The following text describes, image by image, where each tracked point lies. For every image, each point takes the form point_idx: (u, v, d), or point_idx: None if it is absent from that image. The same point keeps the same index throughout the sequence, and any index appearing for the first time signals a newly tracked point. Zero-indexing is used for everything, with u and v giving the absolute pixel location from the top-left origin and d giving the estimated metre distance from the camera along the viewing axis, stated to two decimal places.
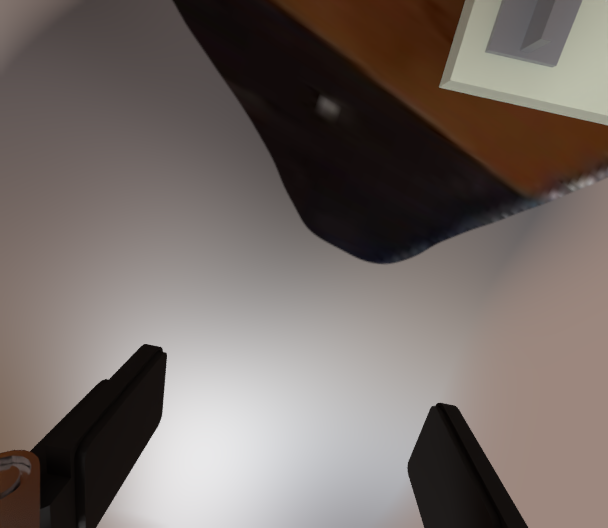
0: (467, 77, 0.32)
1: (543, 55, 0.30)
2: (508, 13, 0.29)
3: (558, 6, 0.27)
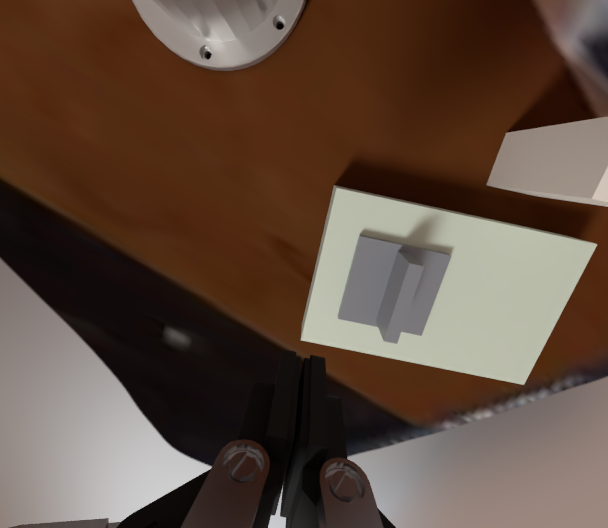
0: (320, 338, 0.26)
1: (404, 325, 0.25)
2: (357, 285, 0.24)
3: (399, 311, 0.21)
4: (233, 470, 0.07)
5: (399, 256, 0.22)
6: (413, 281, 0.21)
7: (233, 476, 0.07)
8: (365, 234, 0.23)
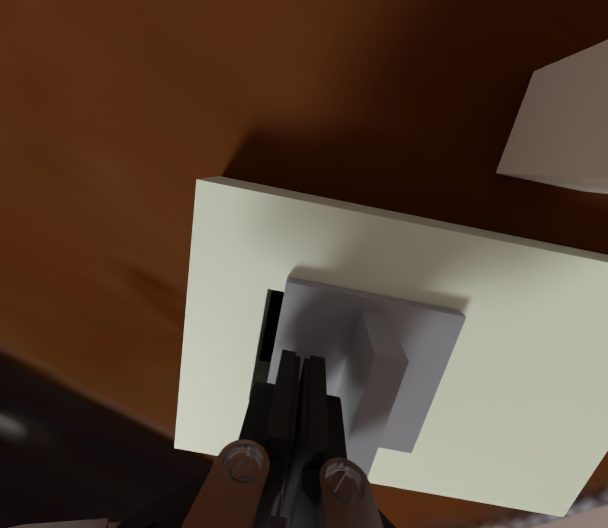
0: (208, 444, 0.15)
1: None
2: None
3: (360, 447, 0.10)
4: (233, 470, 0.07)
5: (362, 323, 0.11)
6: (386, 391, 0.09)
7: (233, 476, 0.07)
8: (264, 269, 0.12)
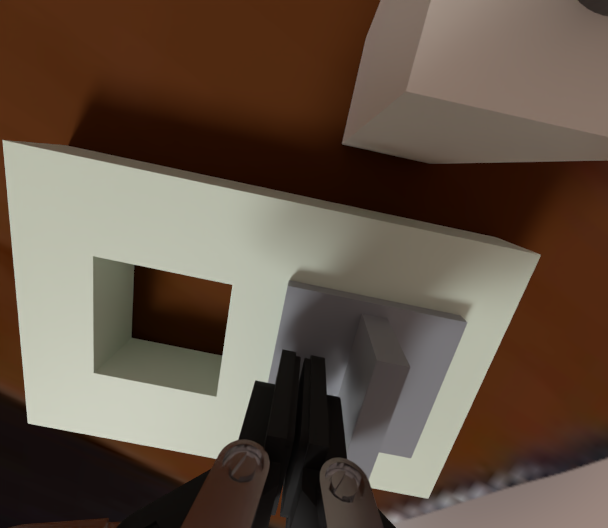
0: (61, 420, 0.15)
1: None
2: None
3: (360, 453, 0.10)
4: (233, 470, 0.07)
5: (363, 327, 0.11)
6: (387, 396, 0.09)
7: (233, 476, 0.07)
8: (86, 235, 0.12)
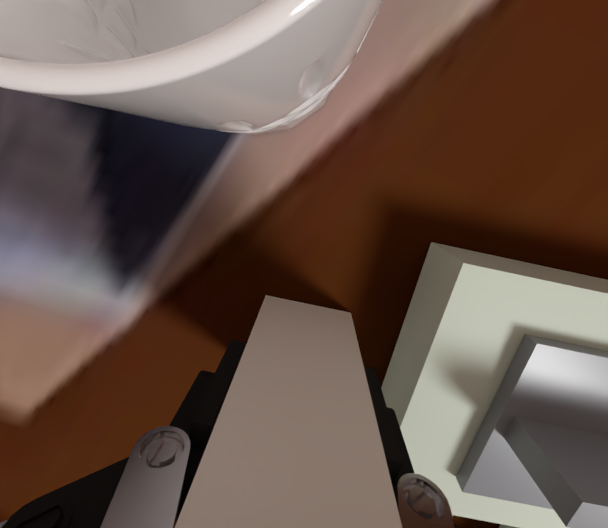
0: None
1: None
2: None
3: None
4: (152, 458, 0.07)
5: None
6: None
7: (152, 464, 0.07)
8: None
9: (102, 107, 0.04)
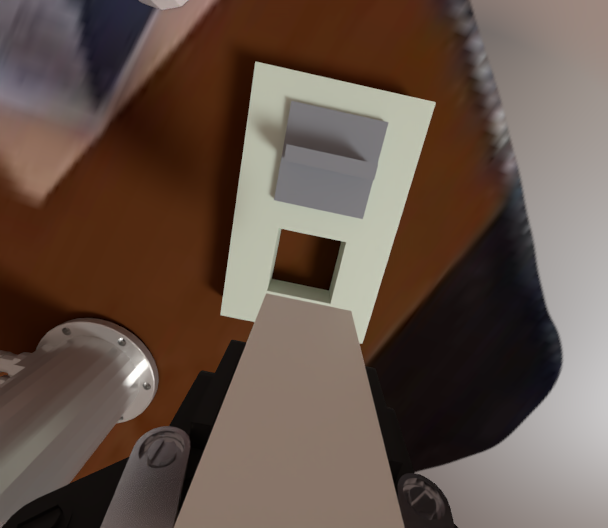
0: (360, 326, 0.27)
1: (374, 144, 0.22)
2: (324, 200, 0.24)
3: (338, 165, 0.20)
4: (152, 458, 0.07)
5: None
6: (303, 153, 0.20)
7: (153, 464, 0.07)
8: (257, 291, 0.27)
9: None
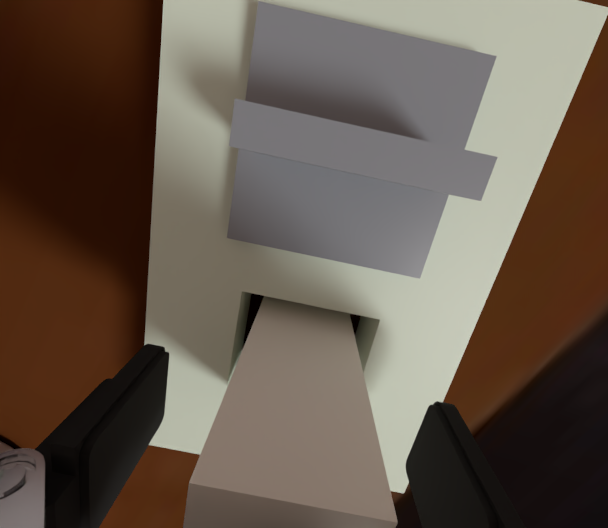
0: (402, 466, 0.14)
1: (457, 111, 0.09)
2: (337, 239, 0.11)
3: (383, 159, 0.07)
4: None
5: None
6: (283, 126, 0.07)
7: None
8: (205, 405, 0.14)
9: None
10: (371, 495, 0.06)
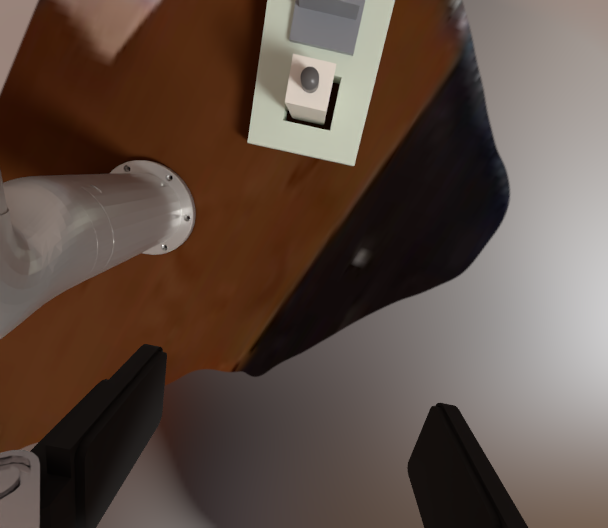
0: (352, 150, 0.36)
1: None
2: (325, 39, 0.33)
3: None
4: None
5: (301, 3, 0.31)
6: None
7: None
8: (275, 121, 0.36)
9: None
10: None
